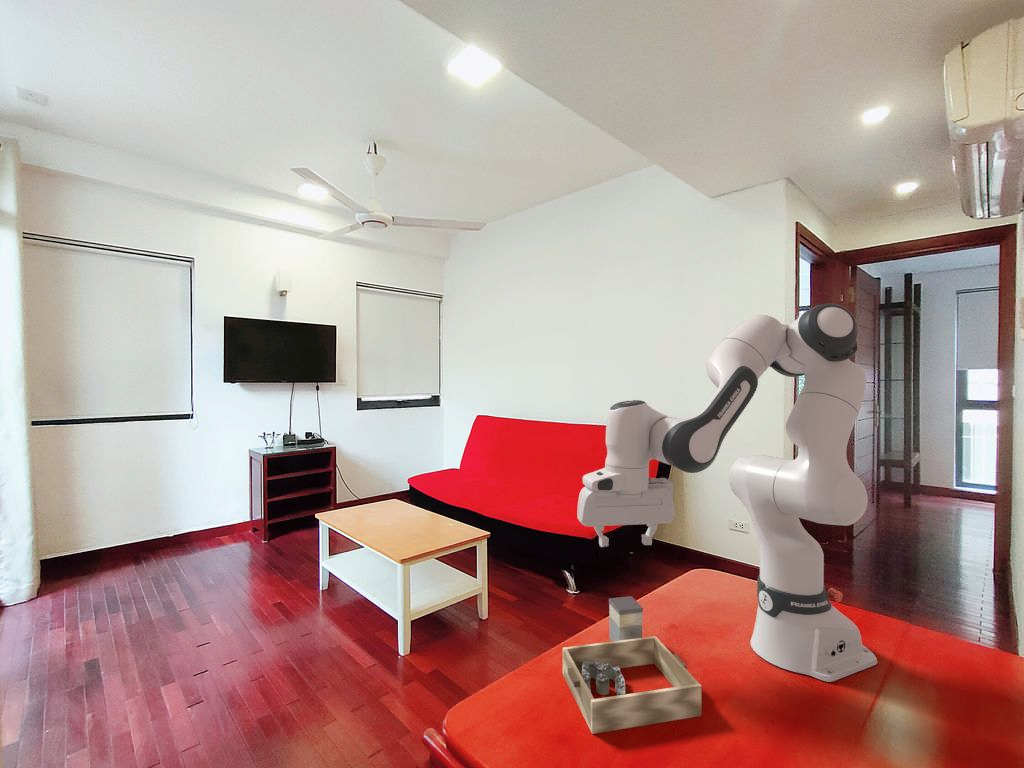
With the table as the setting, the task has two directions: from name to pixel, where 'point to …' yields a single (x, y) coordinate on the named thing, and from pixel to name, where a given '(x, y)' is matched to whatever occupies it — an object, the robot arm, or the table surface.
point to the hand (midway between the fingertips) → (625, 545)
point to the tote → (634, 706)
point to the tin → (625, 618)
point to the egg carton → (603, 677)
